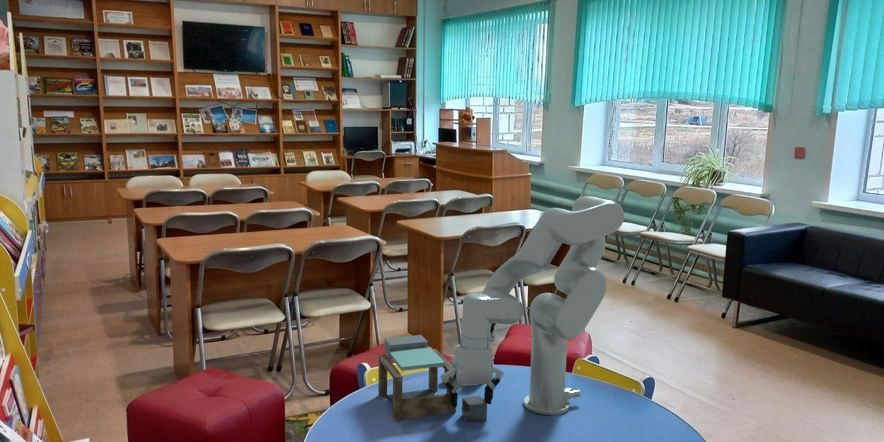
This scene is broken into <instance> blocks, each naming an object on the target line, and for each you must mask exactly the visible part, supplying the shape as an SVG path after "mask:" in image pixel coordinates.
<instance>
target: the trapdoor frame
mask: <svg viewBox="0 0 884 442" xmlns="http://www.w3.org/2000/svg"><path fill="white" fill-rule="evenodd" d="M432 350H433V351H434V352H435V353H436V354H437V355H438V356H439V357H440V358H441V359H442V360H443V361H444V362H445V366H441V367H442V368H443V369H444V371H445V370H446V371H449V370H451V369H452V367H453V366H452V365H451V364H450V363H449V360H447V359H446V357H444V355H442V354H441V353H440V351H439V350H437V348H432ZM438 369H439V367H431V368H428V389H423V390H415V391H414V390H413V391H408V392H407V391H405V392H403V377H404V376H403V375H402V374H401V372H400V371H399V370H398V368H397V367H396V366H395V365H394V363H393V362H392V361H391V359H390V358H389V357H388V355H387V354H386V353H384V354H378V377H377V378H378V380H377V381H378V390H377V391H378V393H377V394H378V397H379V398H380V399H383V398H387V399H388V400H389V402H390V403H391V405H392V419H393V420H394V422H399V421H403V420H406V419H407V420H408V419H413V418H421V417H429V416H435V415H443V414H454V413H457V412H456V411H457V407H456V408H454V407H453V406H452V405H451V403H450V402H449V394H450V390H449V389H448V388H447V387H446V393H441V394H435V393H434V392H437V391H438V379H439V378H438V377H439V375H438V374H439V370H438ZM388 373H389V374H390V376H391V378H392V393H391V394H388ZM448 381H449V383H450V384H451V382H452V381H453V379H452V377H450V378H449V379H448Z"/></svg>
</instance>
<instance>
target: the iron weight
mask: <svg viewBox="0 0 884 442" xmlns="http://www.w3.org/2000/svg"><path fill="white" fill-rule="evenodd" d="M487 414H488V403H487V402H486V401H485V400H484V398H483V397H482V396H481V395H475V396H474V395H473V396H465V397H462V401H461V416H462V417H463V418H464V420H465V421H466V422H467V423H468V424H474V423H481V422H487V419H488V417H487V416H488V415H487Z"/></svg>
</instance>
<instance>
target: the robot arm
mask: <svg viewBox="0 0 884 442" xmlns="http://www.w3.org/2000/svg"><path fill="white" fill-rule="evenodd" d="M624 221H625V213H624V209H623V208H622V206H621V205H620V204H619V203H618V202H615V201H614V200H609V199H604V198H600V197H596V196H592V195H591V196H589V195H582V196H580V197H578V198H576V200H575V201H574V202H573V205H572V208H571V210H568V209H564V208H561V207H559V208H558V207H550V208H548V209H546V210H544V212H542V214H541V216H540V217H539V218H538V220H537V222H536V224H534V227H533V228H532V230H531V231H530V233H529V234H528V236H527V237H526V239H525V241H524V242H523V245H522V246H521V248H520V249H519V251H518V252H517V253H516V254H514V255H513V256H512V257H510V258H509V259H508V260H506V261H505V262H504V263H503V264H502V265H500V266H499V267H498V268H497V269H496V270H495V271H494V273H493V274H492V275H491V277H490V279H489V280H488V282H487V283H486V285H485V286H484V288H483V291H482V292H481V293H480V292H472V293H467V294H466V295H464V297H463V300H462V313H461V314H462V315H461V329H460V332H461V333H460V344H457V345H456V348H455V350H454V355H453V360H452V362H453V367H452V369H451V370H449V371H447V372H446V373H442V374H441V375H440V379H441V380H442V382H443V385H444V386H445V387H446V389H447V388H448V389H449V390H450V394H449V402H450V403H451V405H452V406H453V407H454V408H456V409H457V407H458V396H459V393H458V392H457V391H458V390H459V388H460V387H461V386H478V385H485V386H484V395H483V397H484V398H483V399H484V400H485V401H486V402H487V405H492V400H493V398H494V397H493V396H494V390H495V389H496V387H497V386H498V384H500V383H501V380H502V378H503V376H504V375H505V374H504V371H503V370H501V369H500V368H497V367H496V366H494V360H493V350H492V346H491V342H495V336H494V335H491V326H492V324H500V325H513V324H515V323H518V322H519V321H521V319H522V318H523V316H524V311H525V309H524V304H523V303H522V302H521V300H520V299H519V298H518V297H516V296H514V295H512V294H510V293H511V292H512V290H513V289H514V287H516V285H517V284H518V283H519V282H520V281H522V280H524V279H525V278H527V277H529V276H533V275H536V274H539V273H542V272H544V271H546V270H547V268H548V267H549V265H550V264H551V262H552V260H553V259H554V258H555V255H556V254H557V252H558V251H559V249H560V247H561V246H562V245H563V244H566V245H569V246H570V249H569V250H568V251H567V253H566V255H565V256H564V258H563V260H562V262H561V263H560V265H559V266H558V267H557V270H556V271H555V274H554V276H553V283H554V285H555V287H556V289H557V290H558V291H559V292H562V293H564V294H566V295H567V296H566V298H564V297H562V296H560V295H557V294H555V293H551V292H544V293H540V294H538V295H537V296H535V298H534V299H533V300H532V302H531V305H530V307H529V320H530V322H529V323H530V329H531V330H530V331H531V349H530V350H531V351H530V352H531V354H530V375H529V376H530V377H529V394H527V395H526V396H525V397H524V398H523V405H524V407H525V408H526V409H527V410H529V411H530V412H532V413H536V414H539V415H548V416H550V415H551V416H555V415H562V414H563V413H564V414H565V413H566V412H568V411H569V410H570V409H571V408H570V405H571V404H570V401H569V400H571V399H572V398H573V399H574V398H580V397H581V391H580V389H575V390H574V389H573V390H572V388H570V387H568V388H566V375H567V374H566V371H567V367H566V366H567V353H568V341H567V340H574V339H576V338H577V337H579V336H580V335H582V333H583V332H584V331H585V329H586V327H588V324H589V323H590V321H591V319H592V318H593V316H594V315H595V313H596V312H597V309H598V308H599V306H600V304H601V303H602V301H603V300H604V297H605V295H606V291H607V285H608V283H607V278H606V276H605V274H604V273H603V272H602V271H601V270H600V269H598V265H599V263H600V261H601V259H602V257H603V255H604V253H605V249H606V236H609V235H612V234H614V233H615V232H616V231H618V230H619V229H620V228H621V227H622V225H623V223H624ZM494 374H495V376H494V377H493V375H494ZM450 377H452V379H453V381H452V382H451V384H450V383H449V381H448V379H449V378H450Z"/></svg>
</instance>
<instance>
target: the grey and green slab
mask: <svg viewBox="0 0 884 442" xmlns="http://www.w3.org/2000/svg"><path fill="white" fill-rule="evenodd" d="M428 343H429V342H428V340H427V339H426V338H425V337H424V336H423V335H422V334H417V335H408V336H398V337H397V336H396V337H387V338H386V337H385V338H384V354H386V355H387V357H388V358H389V359H390V360H393V362H394V363H395V364H396V365H397V367H398V368H399V369H400V370H401V371H402V372H403V371H411V370H412V371H413V370H421V369H429V368H431V367H438V368H439V367H442V366H445V362H444V361H443V360H442V359H441V358H440V357H439V356H438V355H437V354H436V353H435V352H434V351H433V350H432V349H433V348H432V346H428V345H429V344H428Z"/></svg>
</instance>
